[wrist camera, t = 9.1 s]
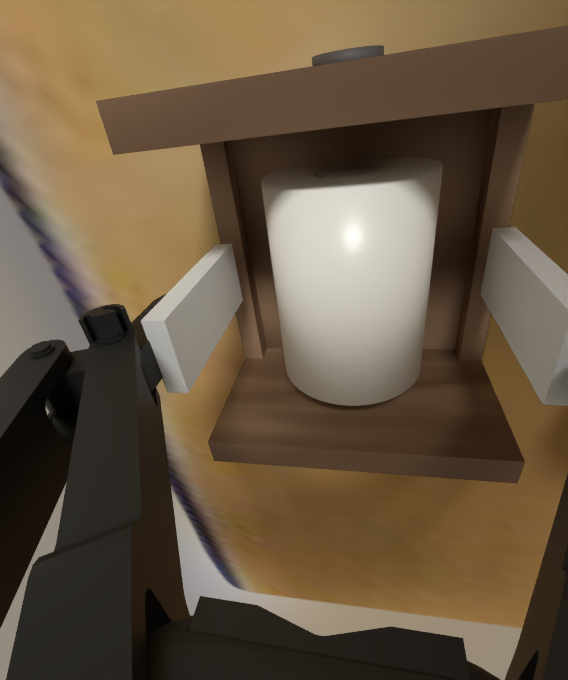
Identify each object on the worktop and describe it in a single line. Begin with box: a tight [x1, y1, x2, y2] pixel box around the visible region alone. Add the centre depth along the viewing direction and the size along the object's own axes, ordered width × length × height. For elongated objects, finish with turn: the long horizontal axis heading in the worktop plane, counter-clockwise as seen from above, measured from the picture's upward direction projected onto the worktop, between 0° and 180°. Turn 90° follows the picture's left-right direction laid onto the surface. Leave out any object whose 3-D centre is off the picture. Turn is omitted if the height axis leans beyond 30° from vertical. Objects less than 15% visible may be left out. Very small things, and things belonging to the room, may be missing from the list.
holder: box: [96, 26, 568, 483], centre depth 15 cm, size 14×12×8 cm
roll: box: [261, 156, 443, 406], centre depth 15 cm, size 8×6×6 cm
